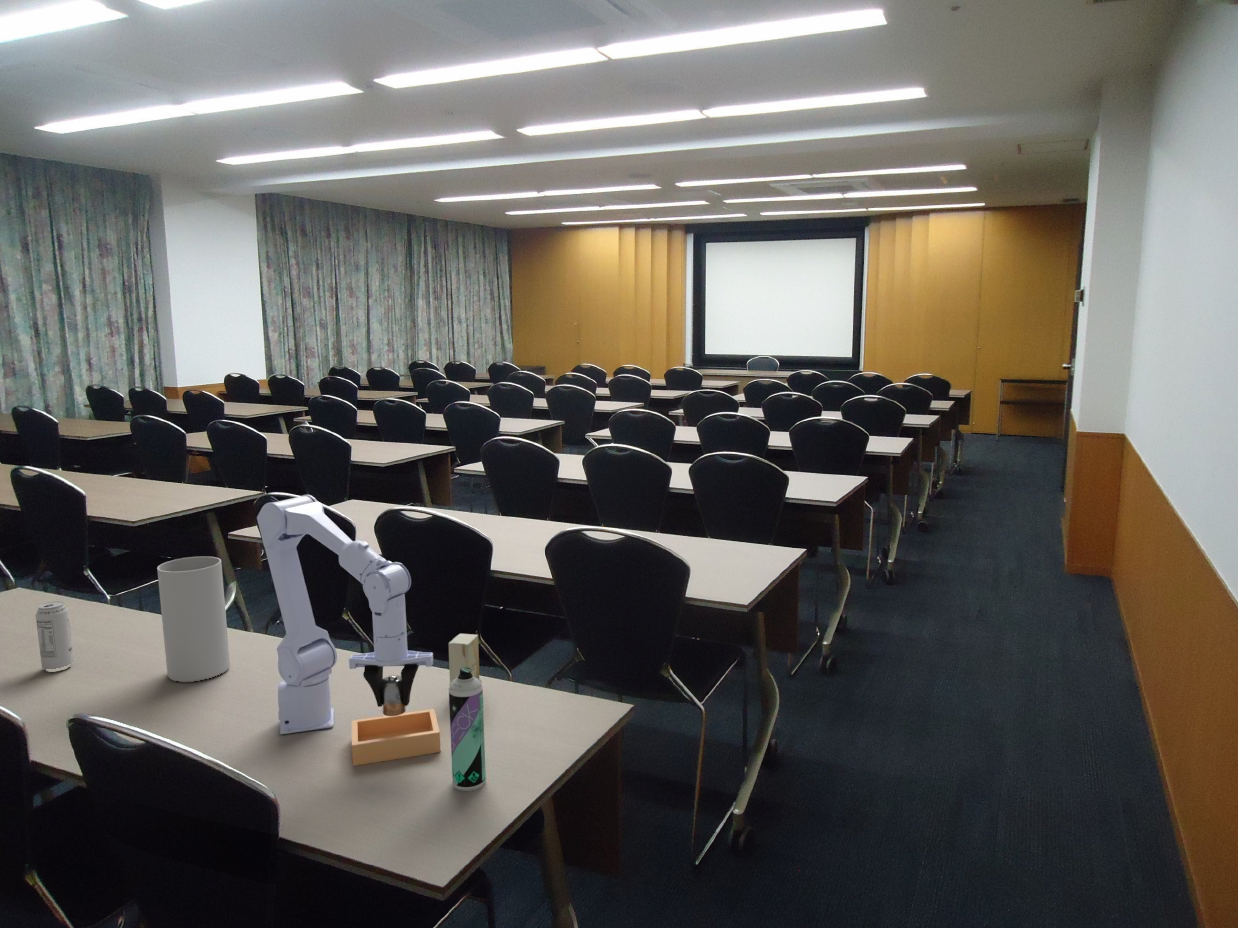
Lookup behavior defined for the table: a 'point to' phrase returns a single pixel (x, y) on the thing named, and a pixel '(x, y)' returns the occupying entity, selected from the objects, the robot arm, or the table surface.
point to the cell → (392, 696)
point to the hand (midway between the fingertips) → (393, 703)
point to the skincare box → (463, 655)
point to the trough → (395, 737)
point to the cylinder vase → (193, 618)
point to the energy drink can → (54, 635)
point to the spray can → (467, 731)
